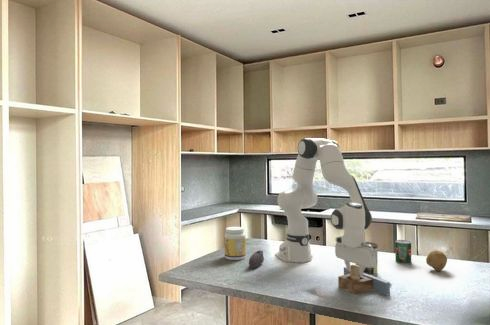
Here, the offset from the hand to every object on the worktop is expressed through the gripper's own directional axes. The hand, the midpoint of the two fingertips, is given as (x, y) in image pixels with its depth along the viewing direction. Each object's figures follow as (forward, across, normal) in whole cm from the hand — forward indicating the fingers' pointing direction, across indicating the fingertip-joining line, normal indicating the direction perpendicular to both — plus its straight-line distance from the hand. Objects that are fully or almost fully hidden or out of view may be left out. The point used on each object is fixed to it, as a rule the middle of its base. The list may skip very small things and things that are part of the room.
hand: (354, 272), depth 151 cm
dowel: (+5, 0, 0) cm, 5 cm away
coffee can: (+7, +12, -20) cm, 24 cm away
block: (+7, 0, 0) cm, 7 cm away
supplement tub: (+7, +69, +23) cm, 73 cm away
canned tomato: (+7, +15, -51) cm, 54 cm away
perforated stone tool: (+7, +49, +21) cm, 54 cm away
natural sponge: (+7, -3, -52) cm, 53 cm away
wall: (+7, 0, -6) cm, 9 cm away
